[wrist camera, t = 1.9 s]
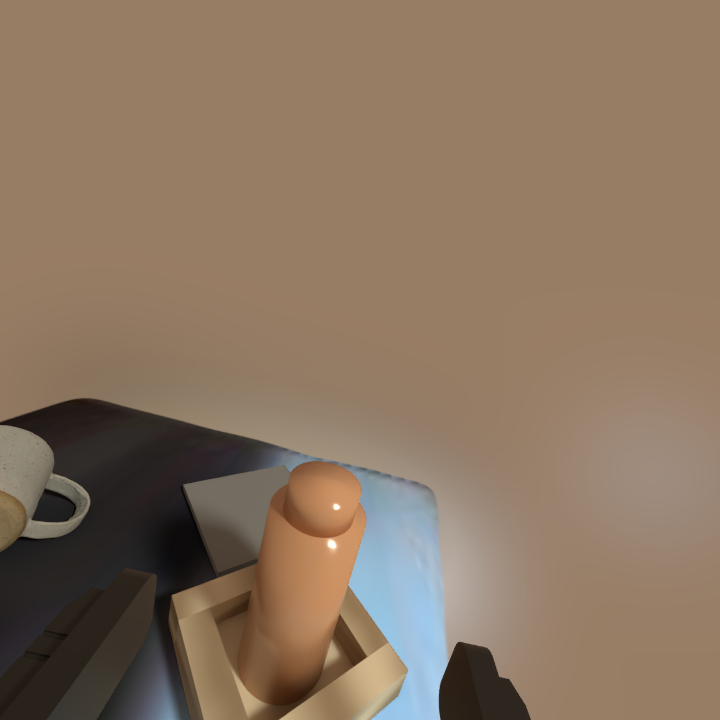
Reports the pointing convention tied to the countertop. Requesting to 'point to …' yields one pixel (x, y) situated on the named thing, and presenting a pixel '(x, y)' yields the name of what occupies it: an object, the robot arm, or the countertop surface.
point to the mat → (234, 515)
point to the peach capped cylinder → (300, 581)
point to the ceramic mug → (31, 488)
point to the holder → (221, 645)
